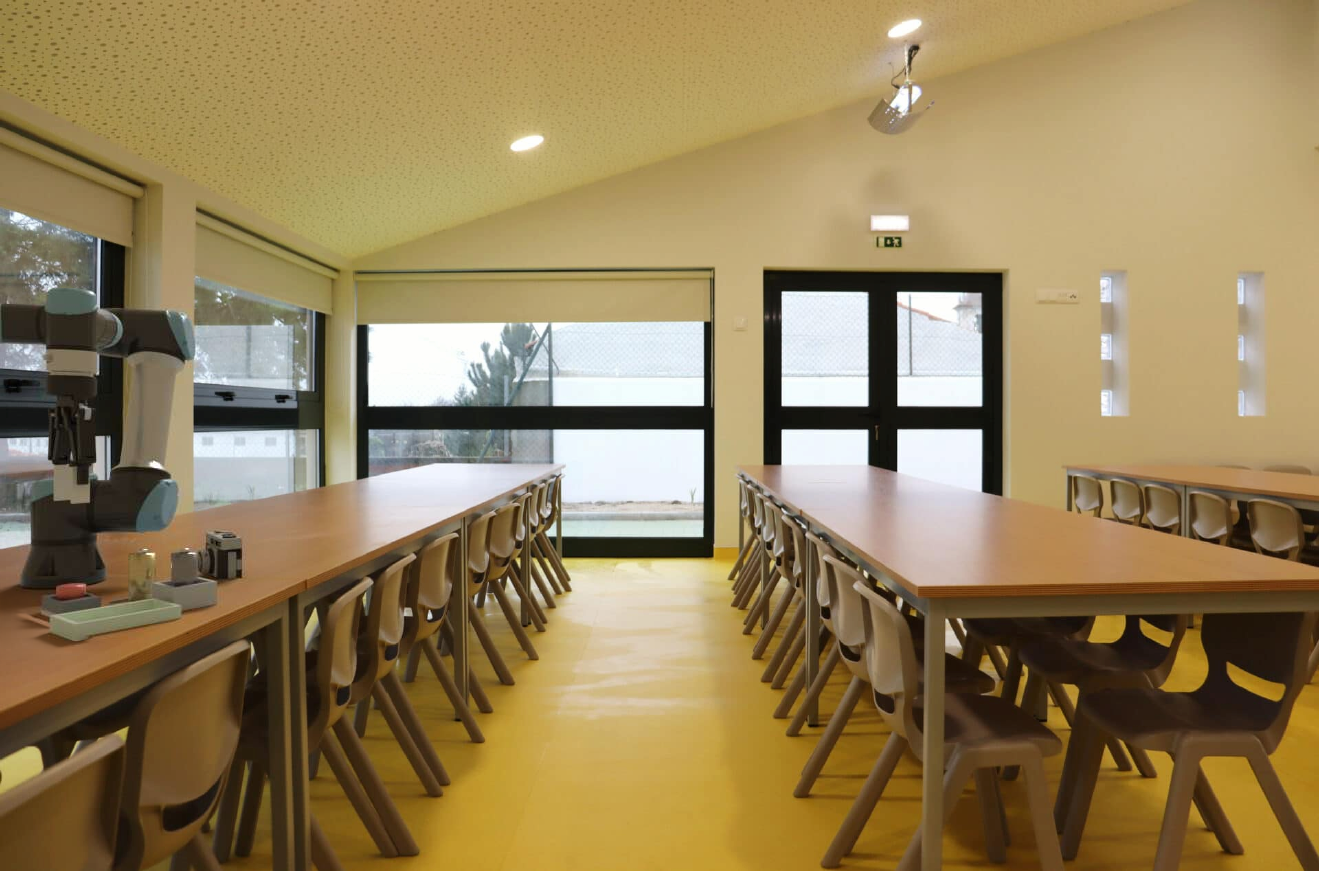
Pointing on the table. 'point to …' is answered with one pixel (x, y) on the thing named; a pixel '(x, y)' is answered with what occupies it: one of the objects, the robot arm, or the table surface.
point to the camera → (221, 555)
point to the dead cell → (184, 568)
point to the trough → (112, 618)
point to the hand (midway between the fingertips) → (71, 501)
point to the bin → (187, 593)
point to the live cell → (141, 575)
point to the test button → (71, 591)
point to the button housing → (68, 604)
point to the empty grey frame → (119, 600)
